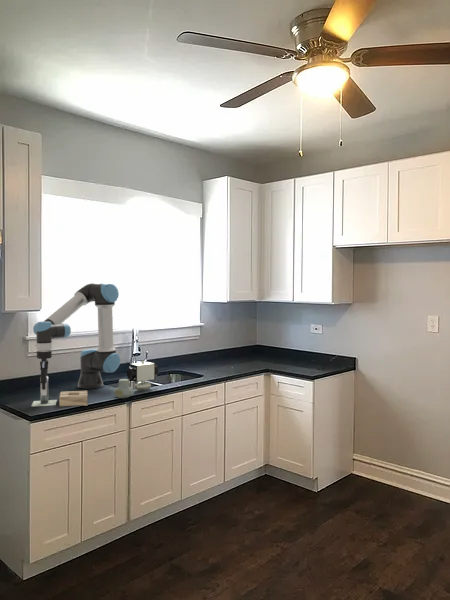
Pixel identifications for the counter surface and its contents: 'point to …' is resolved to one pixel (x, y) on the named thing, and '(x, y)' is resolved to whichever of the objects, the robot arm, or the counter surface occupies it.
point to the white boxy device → (142, 374)
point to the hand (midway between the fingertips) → (44, 393)
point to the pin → (44, 398)
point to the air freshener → (123, 389)
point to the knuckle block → (73, 398)
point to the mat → (38, 403)
